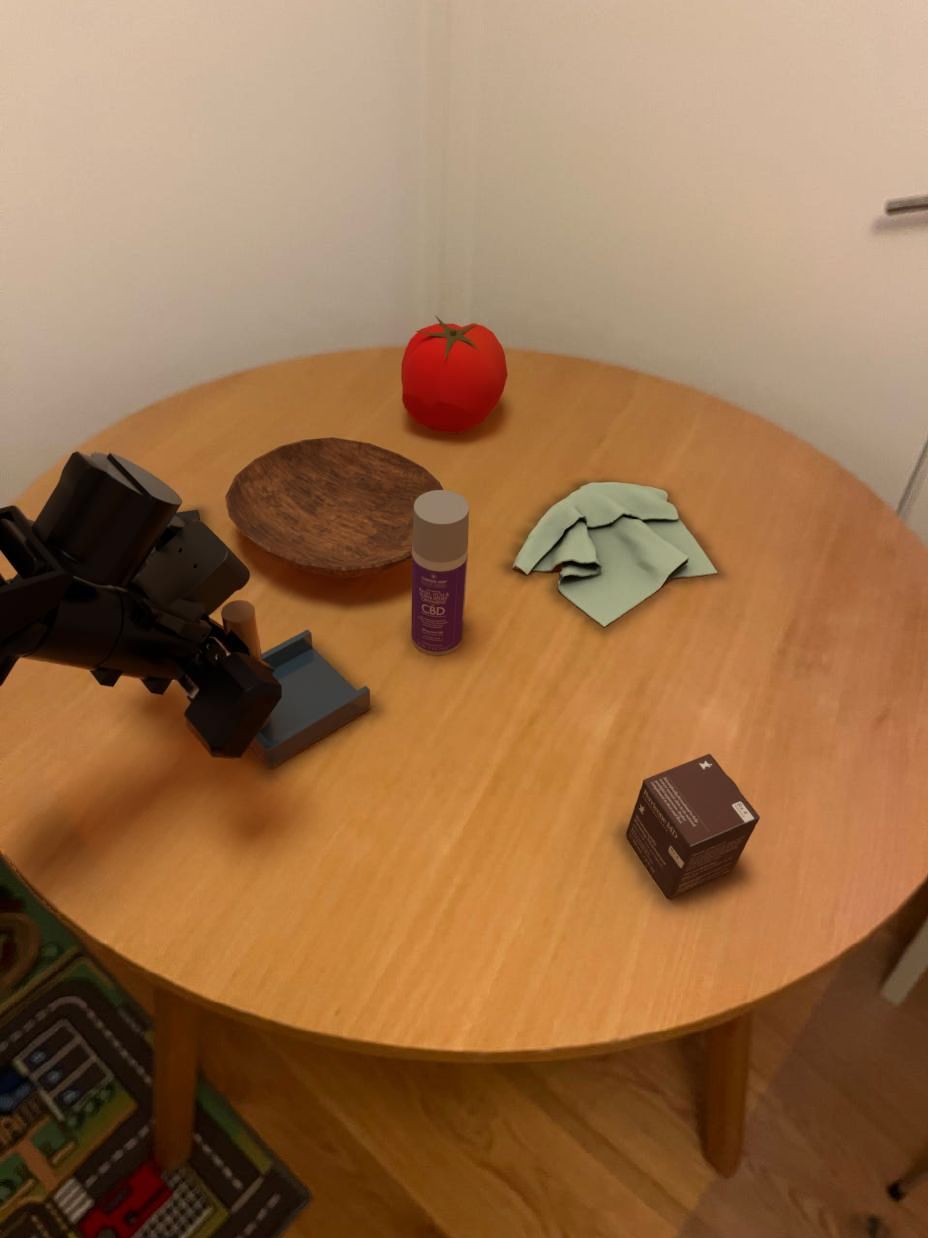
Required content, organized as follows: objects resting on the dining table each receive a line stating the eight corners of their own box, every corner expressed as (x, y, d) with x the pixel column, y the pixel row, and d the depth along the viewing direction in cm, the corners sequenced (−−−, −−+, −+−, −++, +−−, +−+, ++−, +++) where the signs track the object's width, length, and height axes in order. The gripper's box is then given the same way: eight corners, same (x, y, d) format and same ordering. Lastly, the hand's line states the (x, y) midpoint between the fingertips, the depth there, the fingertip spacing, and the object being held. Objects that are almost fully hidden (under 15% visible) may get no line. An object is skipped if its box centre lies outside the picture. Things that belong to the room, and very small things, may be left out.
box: (623, 834, 70) (640, 777, 65) (688, 807, 72) (710, 750, 67) (667, 901, 66) (690, 847, 61) (735, 871, 68) (762, 816, 63)
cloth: (670, 481, 103) (675, 463, 101) (739, 617, 87) (745, 599, 86) (490, 490, 100) (492, 471, 98) (529, 633, 85) (531, 614, 83)
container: (417, 659, 82) (419, 528, 71) (406, 623, 85) (406, 492, 74) (468, 651, 83) (477, 520, 72) (455, 615, 86) (461, 485, 75)
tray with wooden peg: (269, 769, 72) (251, 657, 63) (210, 701, 77) (185, 587, 68) (370, 708, 77) (367, 595, 68) (309, 647, 82) (298, 534, 73)
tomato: (376, 412, 110) (374, 322, 102) (462, 379, 116) (466, 291, 108) (440, 460, 104) (443, 368, 95) (527, 422, 110) (537, 332, 102)
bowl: (320, 454, 103) (317, 416, 100) (483, 529, 95) (486, 490, 92) (191, 544, 92) (182, 504, 88) (364, 639, 83) (362, 599, 80)
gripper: (237, 601, 52) (392, 648, 65) (92, 451, 62) (252, 518, 75) (136, 755, 54) (307, 770, 67) (10, 585, 64) (181, 628, 77)
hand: (261, 663), depth 71 cm, fingers closed on tray with wooden peg, 2 cm apart
